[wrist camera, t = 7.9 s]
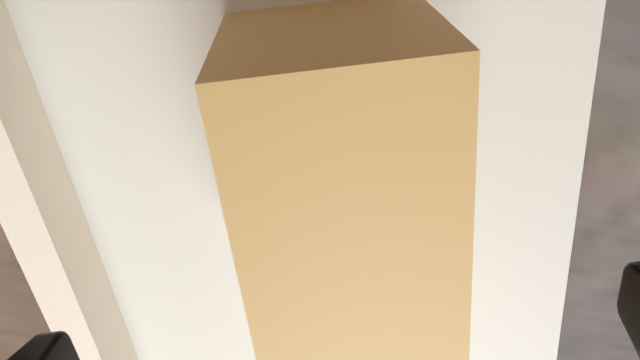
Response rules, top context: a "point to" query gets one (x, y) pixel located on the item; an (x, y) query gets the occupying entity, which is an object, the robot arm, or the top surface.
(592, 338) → the top surface
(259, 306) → the tea box
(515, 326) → the shelf
